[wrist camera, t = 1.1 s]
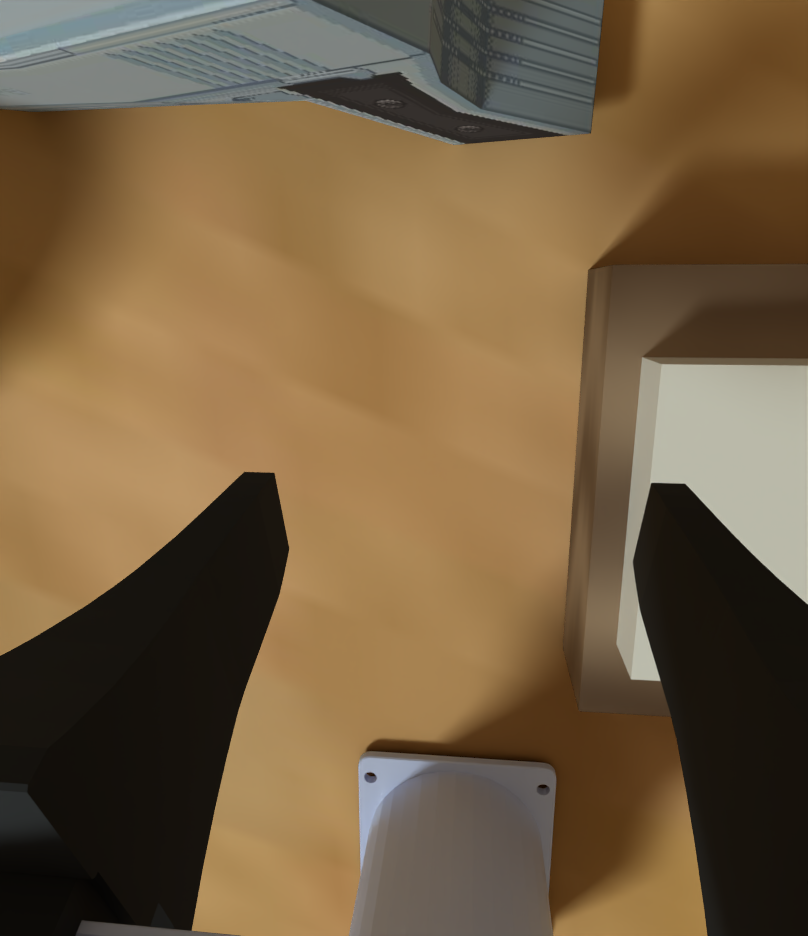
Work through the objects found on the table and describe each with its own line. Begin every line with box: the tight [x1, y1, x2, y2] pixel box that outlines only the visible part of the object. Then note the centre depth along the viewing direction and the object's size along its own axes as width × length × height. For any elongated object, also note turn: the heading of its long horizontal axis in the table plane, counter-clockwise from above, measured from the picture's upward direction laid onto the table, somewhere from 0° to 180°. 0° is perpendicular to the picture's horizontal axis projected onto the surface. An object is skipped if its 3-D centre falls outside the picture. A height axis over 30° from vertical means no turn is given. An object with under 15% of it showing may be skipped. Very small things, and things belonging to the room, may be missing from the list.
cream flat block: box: [616, 357, 808, 681], centre depth 19 cm, size 9×6×2 cm, turn 0°
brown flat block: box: [563, 264, 808, 717], centre depth 21 cm, size 14×10×4 cm
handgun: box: [0, 0, 604, 145], centre depth 19 cm, size 4×18×12 cm, turn 88°
